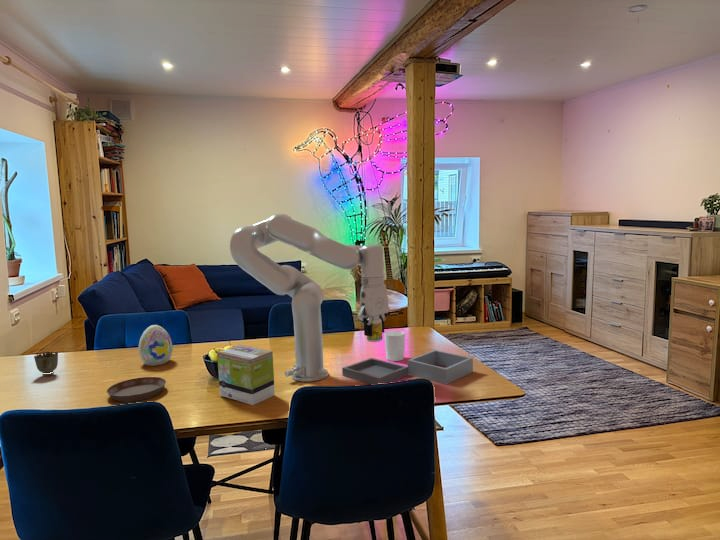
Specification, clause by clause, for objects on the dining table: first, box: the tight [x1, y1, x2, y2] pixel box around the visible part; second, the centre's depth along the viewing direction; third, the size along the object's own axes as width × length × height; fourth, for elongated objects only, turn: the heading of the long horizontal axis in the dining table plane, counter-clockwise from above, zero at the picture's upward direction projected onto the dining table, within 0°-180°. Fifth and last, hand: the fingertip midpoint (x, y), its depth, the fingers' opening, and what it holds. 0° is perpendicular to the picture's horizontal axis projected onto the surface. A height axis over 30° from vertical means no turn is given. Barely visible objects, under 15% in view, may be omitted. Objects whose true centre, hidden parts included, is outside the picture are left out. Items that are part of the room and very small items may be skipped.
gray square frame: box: [407, 349, 474, 385], centre depth 176 cm, size 16×16×5 cm
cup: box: [33, 351, 59, 377], centre depth 186 cm, size 8×7×8 cm
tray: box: [341, 357, 409, 385], centre depth 175 cm, size 15×17×3 cm
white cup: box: [383, 330, 406, 362], centre depth 193 cm, size 8×8×10 cm
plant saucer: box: [106, 376, 167, 403], centre depth 165 cm, size 18×18×3 cm
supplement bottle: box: [366, 315, 383, 343], centre depth 173 cm, size 5×5×10 cm
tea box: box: [216, 344, 275, 406], centre depth 159 cm, size 15×10×15 cm, turn 56°
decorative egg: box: [138, 324, 174, 367], centre depth 197 cm, size 12×12×15 cm
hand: (374, 333), depth 174 cm, fingers closed on supplement bottle, 5 cm apart
